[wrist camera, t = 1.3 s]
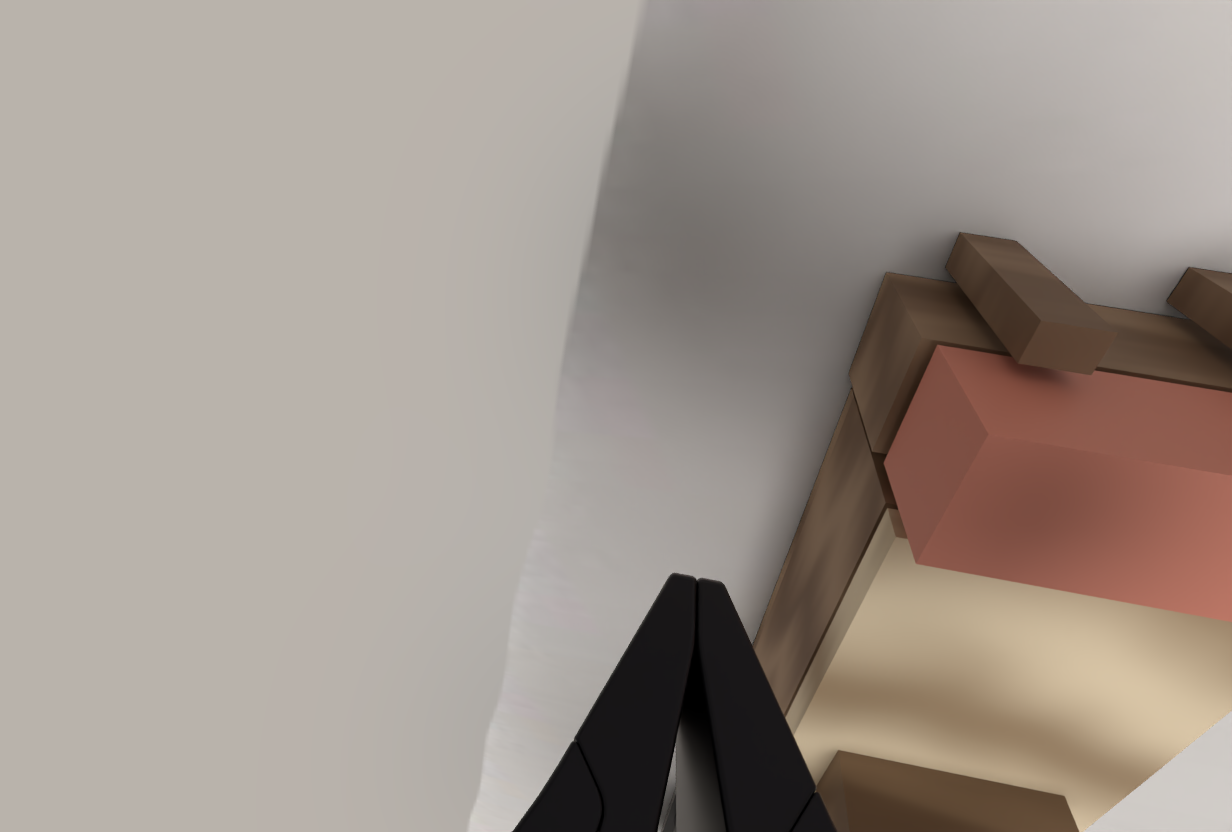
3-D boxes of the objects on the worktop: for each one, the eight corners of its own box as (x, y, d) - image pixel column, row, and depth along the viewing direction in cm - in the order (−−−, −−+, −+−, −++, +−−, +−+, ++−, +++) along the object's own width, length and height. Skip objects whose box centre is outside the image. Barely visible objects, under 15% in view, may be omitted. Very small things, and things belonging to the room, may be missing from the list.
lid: (1025, 838, 23) (1073, 978, 20) (754, 782, 24) (757, 908, 21) (1311, 584, 15) (1471, 750, 12) (886, 508, 16) (928, 646, 12)
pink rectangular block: (1245, 526, 16) (1357, 645, 13) (883, 462, 16) (915, 563, 14) (1353, 412, 14) (1515, 524, 11) (937, 344, 14) (988, 434, 12)
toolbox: (1233, 743, 27) (1333, 894, 23) (745, 647, 28) (748, 772, 24) (1743, 351, 16) (2139, 495, 11) (904, 224, 17) (965, 308, 13)
